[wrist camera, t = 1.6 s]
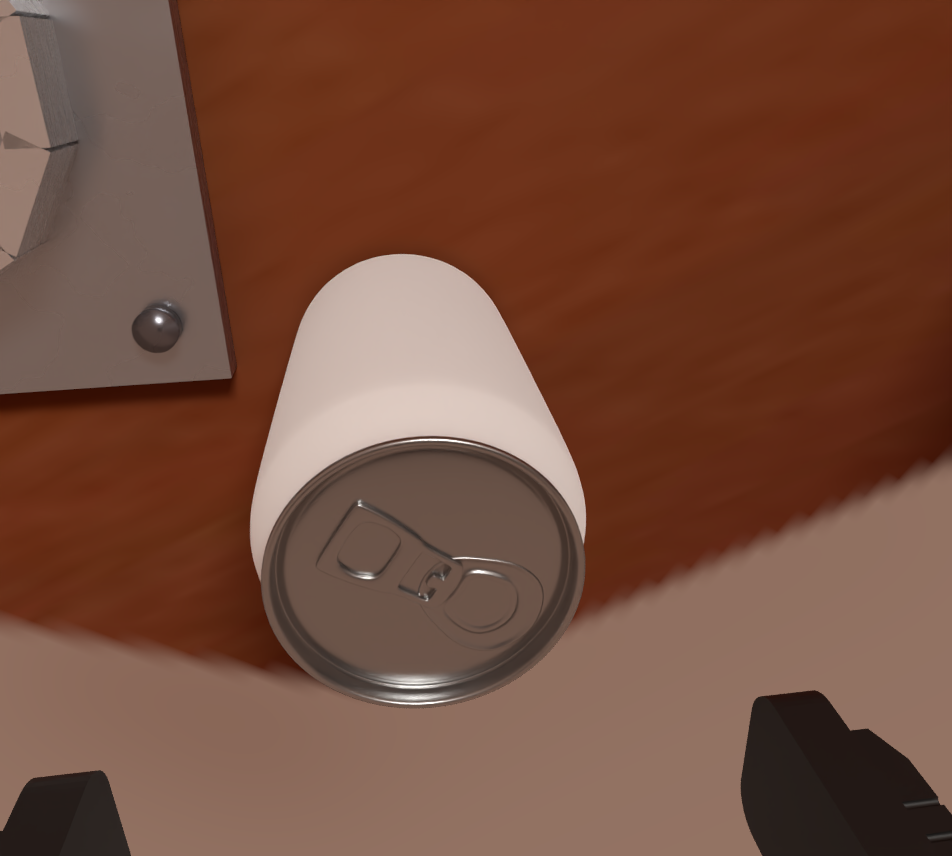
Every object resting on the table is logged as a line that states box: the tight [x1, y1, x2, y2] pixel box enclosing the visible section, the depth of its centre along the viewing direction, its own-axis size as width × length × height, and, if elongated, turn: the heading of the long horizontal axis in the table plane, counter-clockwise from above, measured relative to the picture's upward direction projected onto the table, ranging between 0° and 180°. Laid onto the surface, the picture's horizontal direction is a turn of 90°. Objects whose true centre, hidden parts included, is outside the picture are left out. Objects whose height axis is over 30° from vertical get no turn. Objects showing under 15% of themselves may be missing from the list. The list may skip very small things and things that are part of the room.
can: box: [250, 254, 586, 708], centre depth 19 cm, size 6×6×12 cm
